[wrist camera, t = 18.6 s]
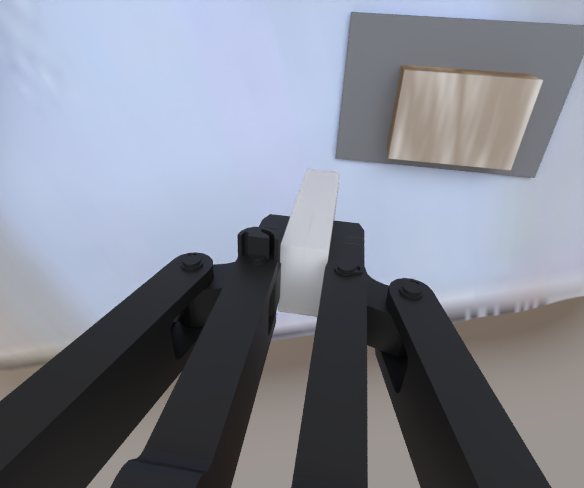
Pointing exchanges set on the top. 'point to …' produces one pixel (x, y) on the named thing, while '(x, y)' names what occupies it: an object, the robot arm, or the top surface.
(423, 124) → the wooden block
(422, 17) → the mat
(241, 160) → the top surface
